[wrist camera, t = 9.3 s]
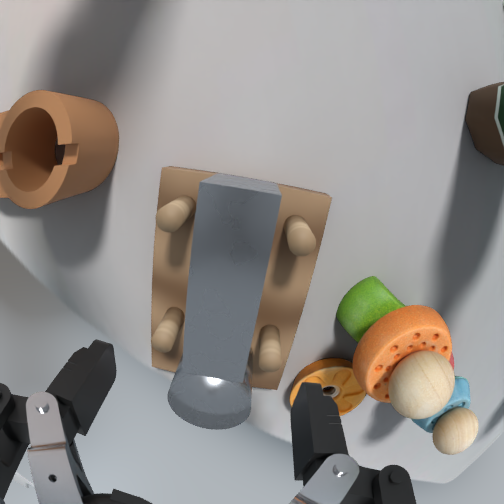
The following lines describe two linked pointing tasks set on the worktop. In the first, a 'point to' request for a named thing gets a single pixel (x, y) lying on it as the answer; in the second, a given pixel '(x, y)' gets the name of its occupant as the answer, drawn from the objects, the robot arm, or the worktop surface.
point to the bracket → (43, 147)
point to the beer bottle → (487, 121)
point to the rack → (276, 281)
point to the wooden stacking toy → (398, 366)
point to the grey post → (224, 299)
